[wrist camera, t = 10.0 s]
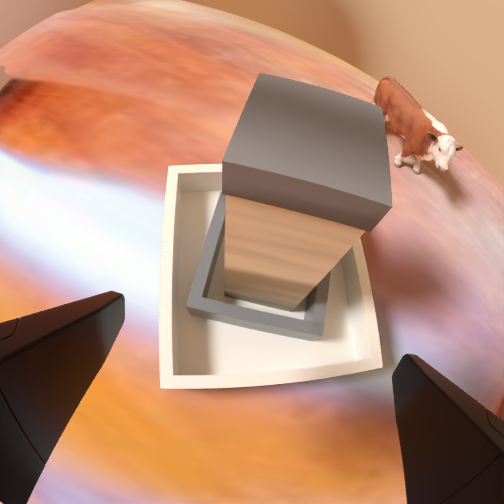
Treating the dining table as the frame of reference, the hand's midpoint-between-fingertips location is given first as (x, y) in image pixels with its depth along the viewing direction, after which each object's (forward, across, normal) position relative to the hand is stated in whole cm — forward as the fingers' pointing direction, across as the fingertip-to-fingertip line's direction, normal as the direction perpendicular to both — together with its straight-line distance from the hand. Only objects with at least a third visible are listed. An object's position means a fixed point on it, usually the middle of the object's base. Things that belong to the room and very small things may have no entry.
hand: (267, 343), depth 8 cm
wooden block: (+13, 0, +4) cm, 13 cm away
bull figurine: (+27, -13, -9) cm, 31 cm away
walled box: (+14, 0, +4) cm, 14 cm away
